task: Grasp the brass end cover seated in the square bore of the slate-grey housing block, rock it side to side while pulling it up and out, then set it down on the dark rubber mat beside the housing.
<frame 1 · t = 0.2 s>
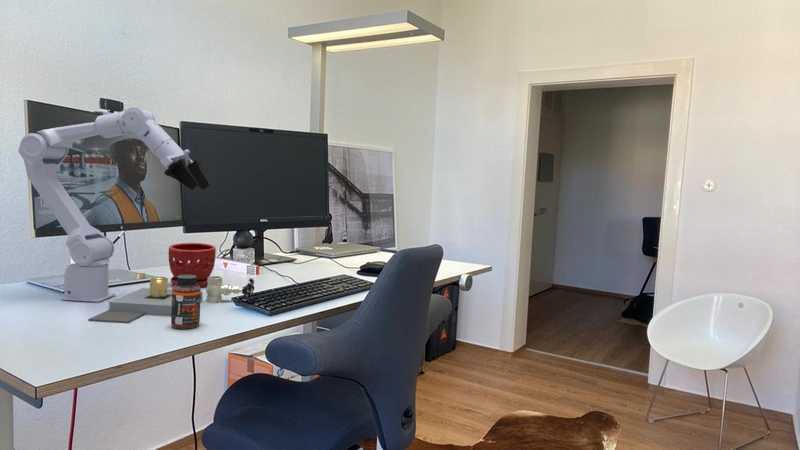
hand: (201, 187, 134), 30 cm above the table, tool tilted 45°, fingers open, 7 cm apart
rubber mat: (119, 316, 122), on the table
housing: (158, 306, 133), on the table
brass cover: (158, 292, 133), in the housing
supplement bottle: (185, 326, 118), on the table
plant pot: (191, 285, 159), on the table
valve: (229, 302, 142), on the table
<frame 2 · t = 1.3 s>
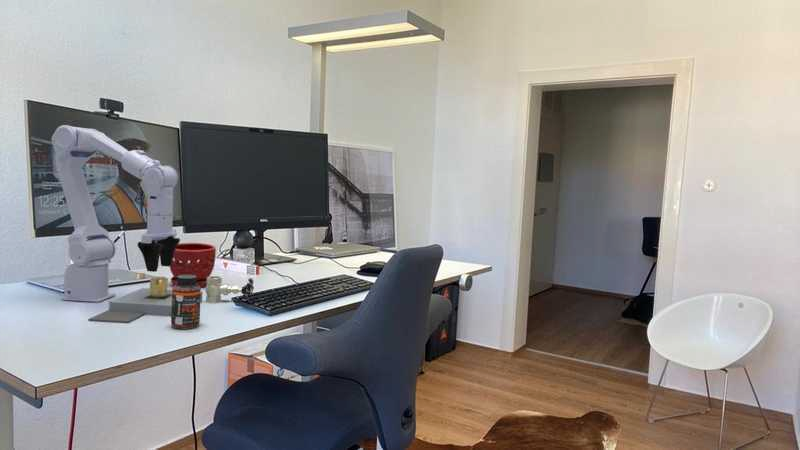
hand: (159, 268, 132), 10 cm above the table, tool pointing down, fingers open, 7 cm apart
nothing on the table moved.
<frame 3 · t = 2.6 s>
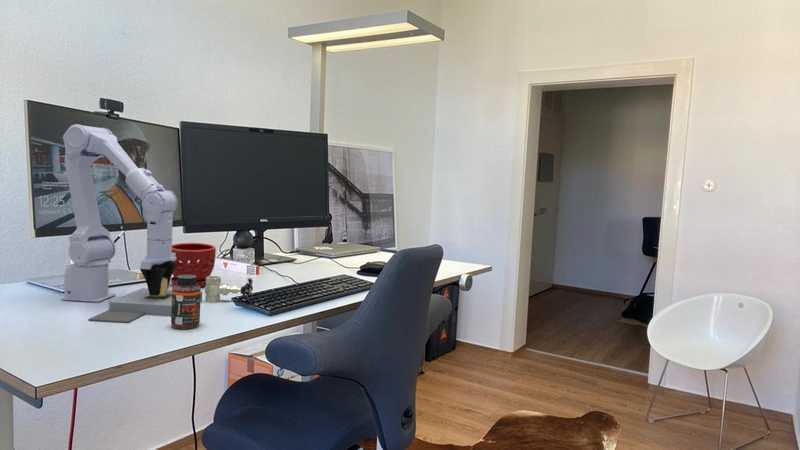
hand: (158, 292, 133), 3 cm above the table, tool pointing down, fingers closed on brass cover, 4 cm apart
brass cover: (158, 292, 133), in the housing, touching gripper
everything else where it was.
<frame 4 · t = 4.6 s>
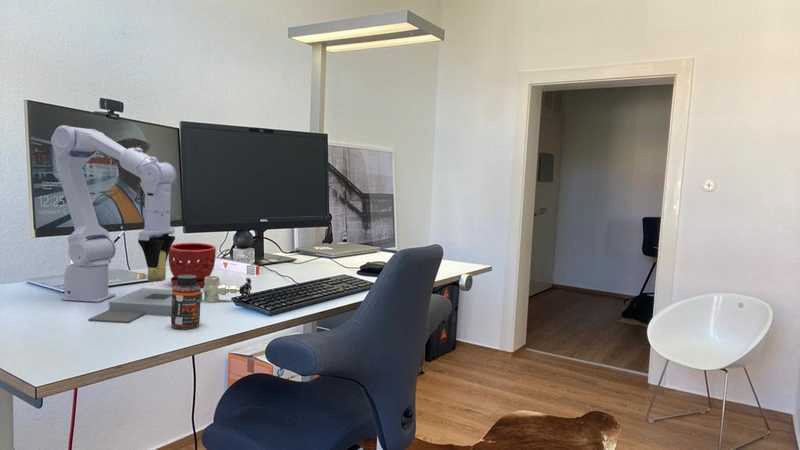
hand: (156, 265, 131), 10 cm above the table, tool pointing down, fingers closed on brass cover, 4 cm apart
brass cover: (156, 265, 131), point 10 cm above the table, touching gripper
everything else where it was.
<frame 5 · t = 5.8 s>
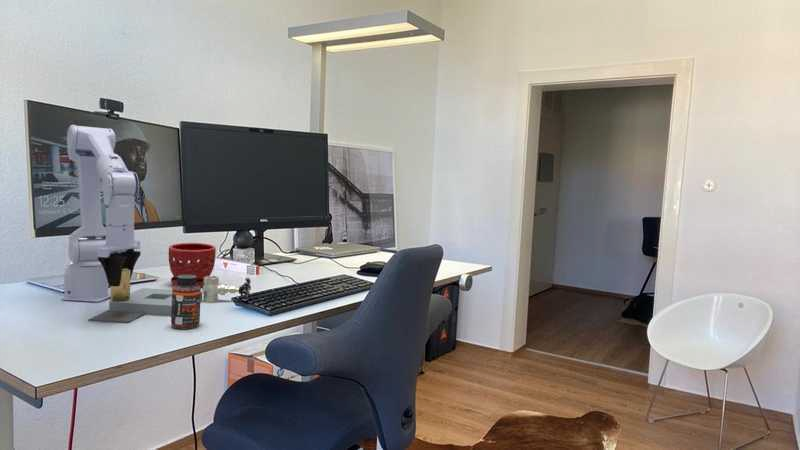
hand: (119, 284, 121), 8 cm above the table, tool pointing down, fingers closed on brass cover, 4 cm apart
brass cover: (120, 284, 121), point 8 cm above the table, touching gripper
everything else where it was.
when the fingers open (5 cm above the table, at t = 6.7 s): brass cover stays where it is, resting on rubber mat.
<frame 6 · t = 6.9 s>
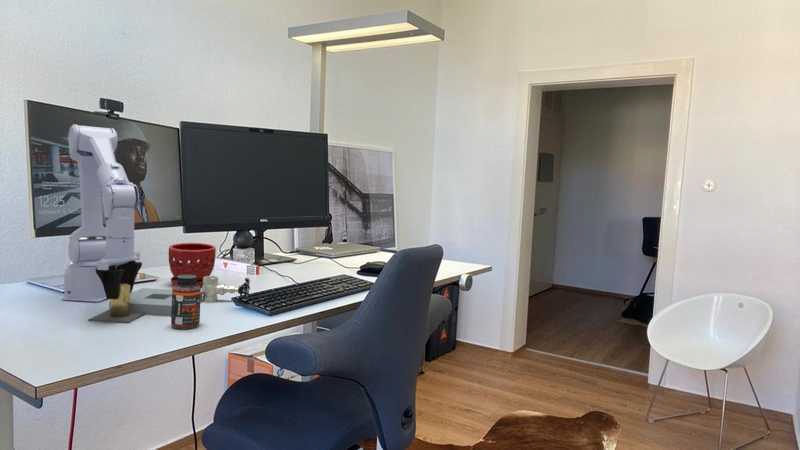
hand: (119, 295, 122), 5 cm above the table, tool pointing down, fingers open, 6 cm apart
brass cover: (120, 299, 122), on the rubber mat
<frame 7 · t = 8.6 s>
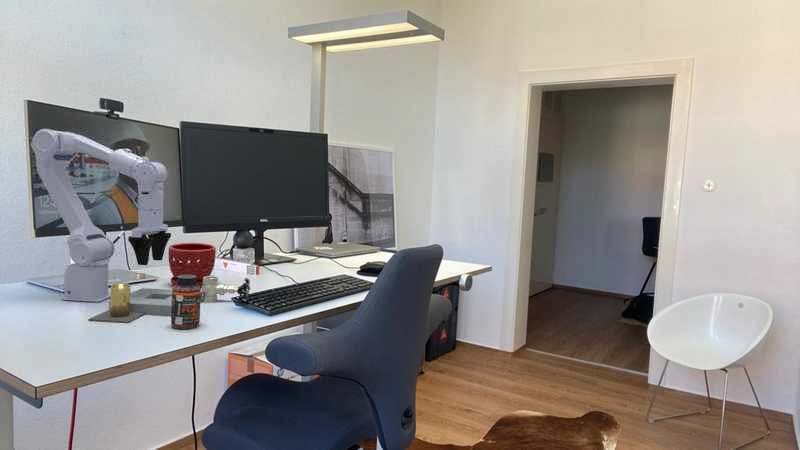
hand: (150, 262, 135), 10 cm above the table, tool pointing down, fingers open, 7 cm apart
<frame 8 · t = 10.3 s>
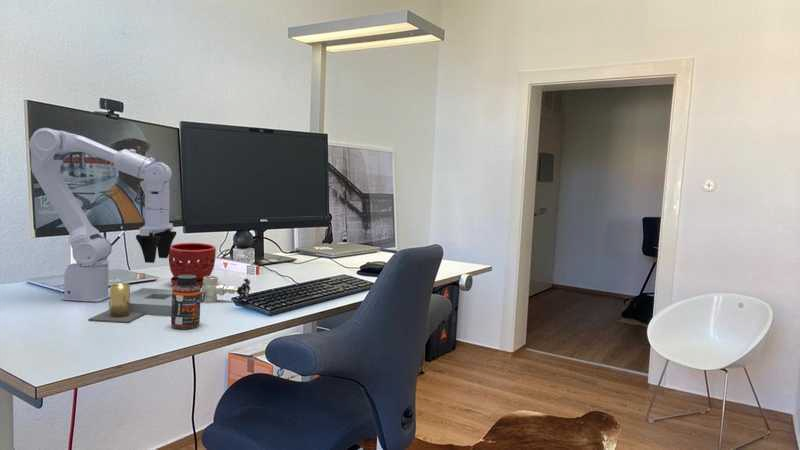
hand: (156, 260, 139), 10 cm above the table, tool pointing down, fingers open, 7 cm apart
at the end: brass cover inside the target area on the rubber mat (0.2 cm from its centre), point 4.1 cm above the rubber mat's base; brass cover tilted 2°; the gripper is holding nothing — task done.
